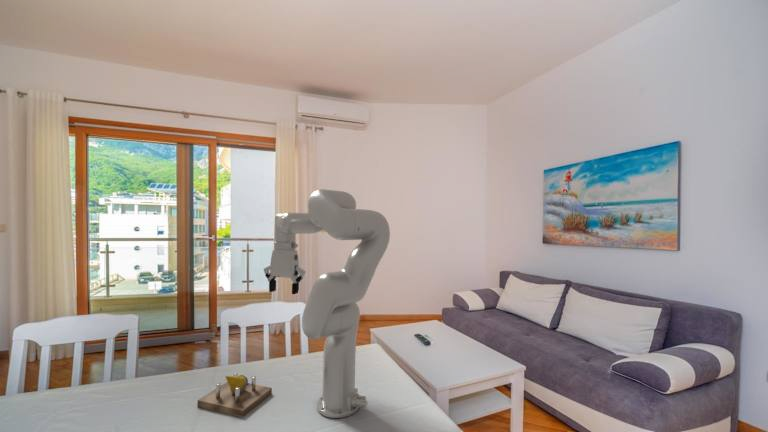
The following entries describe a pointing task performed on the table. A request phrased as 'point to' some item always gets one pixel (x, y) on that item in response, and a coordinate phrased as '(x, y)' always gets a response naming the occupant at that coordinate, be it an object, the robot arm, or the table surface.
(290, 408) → the table surface
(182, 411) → the table surface
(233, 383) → the olive yellow block
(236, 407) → the peg board
